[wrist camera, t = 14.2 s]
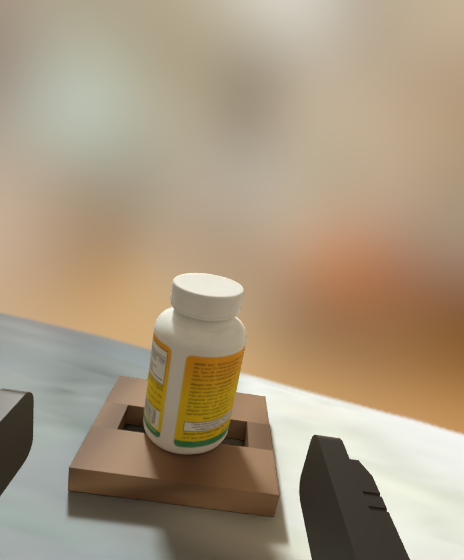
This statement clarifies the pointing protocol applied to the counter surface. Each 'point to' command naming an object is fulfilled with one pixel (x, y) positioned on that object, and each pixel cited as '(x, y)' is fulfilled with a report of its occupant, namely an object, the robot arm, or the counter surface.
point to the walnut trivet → (178, 459)
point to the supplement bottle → (195, 364)
